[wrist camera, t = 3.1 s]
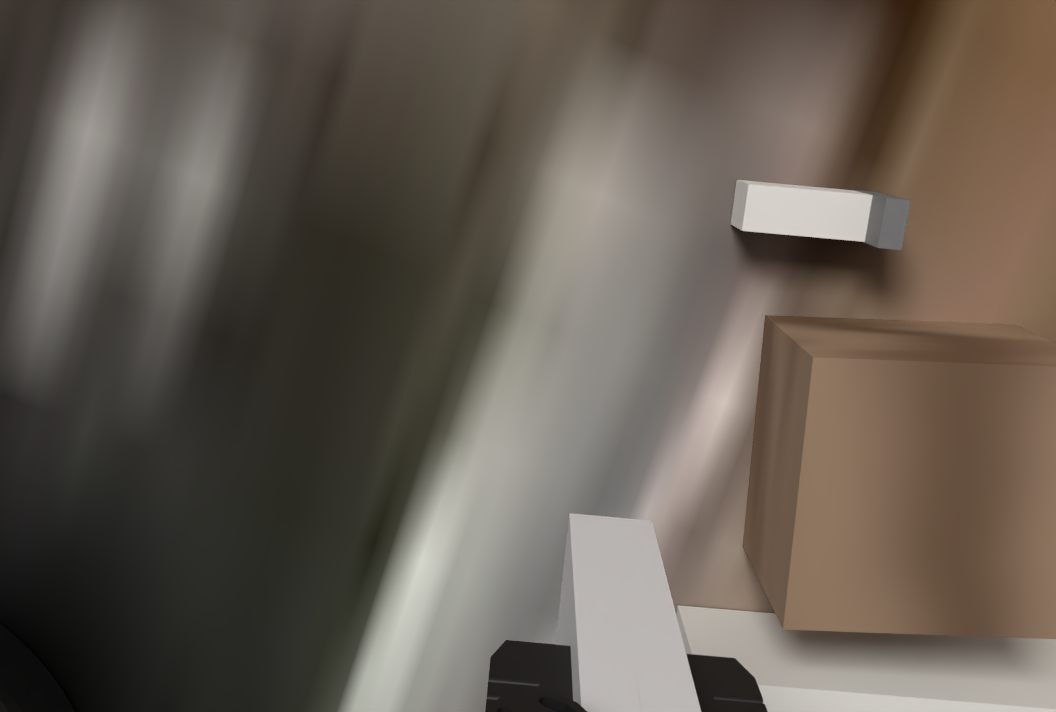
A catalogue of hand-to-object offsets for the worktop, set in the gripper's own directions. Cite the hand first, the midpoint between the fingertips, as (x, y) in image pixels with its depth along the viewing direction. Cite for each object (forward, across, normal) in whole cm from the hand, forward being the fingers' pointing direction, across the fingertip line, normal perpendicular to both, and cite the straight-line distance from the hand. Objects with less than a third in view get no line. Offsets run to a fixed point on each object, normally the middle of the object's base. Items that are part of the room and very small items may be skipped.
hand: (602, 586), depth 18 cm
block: (+11, +8, 0) cm, 14 cm away
